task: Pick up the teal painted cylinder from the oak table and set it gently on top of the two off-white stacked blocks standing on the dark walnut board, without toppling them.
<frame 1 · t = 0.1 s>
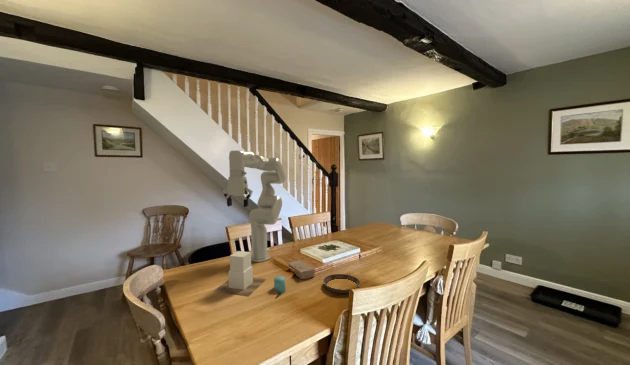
hand: (237, 206, 137), 37 cm above the table, tool pointing down, fingers open, 9 cm apart
tower board: (241, 287, 123), on the table
dark brown ring: (341, 287, 124), on the table
brick: (300, 273, 140), on the table
tower block upper: (240, 268, 122), point 9 cm above the table, touching tower block lower
tower block lower: (241, 284, 123), point 1 cm above the table, touching tower block upper, tower board
teal cylinder: (279, 291, 120), on the table
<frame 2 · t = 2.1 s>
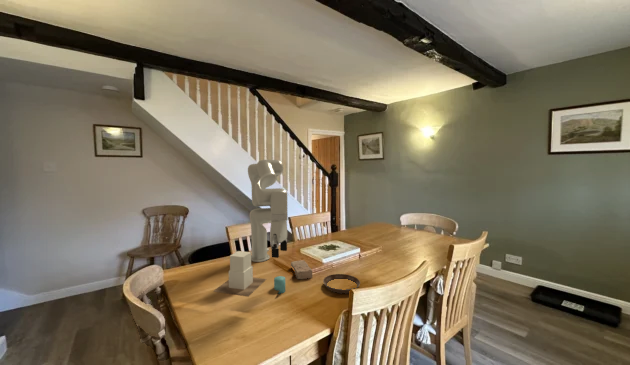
hand: (279, 253, 118), 18 cm above the table, tool pointing down, fingers open, 9 cm apart
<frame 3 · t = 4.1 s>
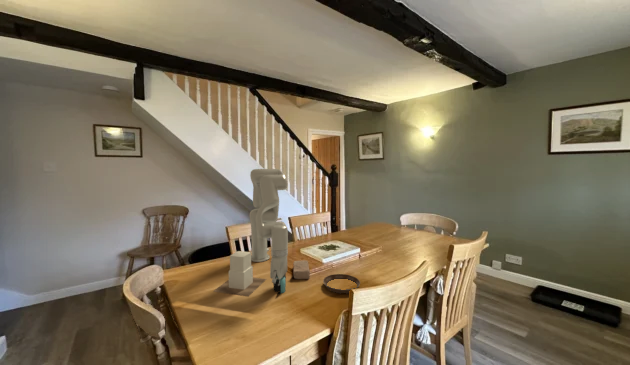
hand: (279, 289, 120), 0 cm above the table, tool pointing down, fingers closed on teal cylinder, 5 cm apart
teal cylinder: (279, 291, 120), on the table, touching gripper
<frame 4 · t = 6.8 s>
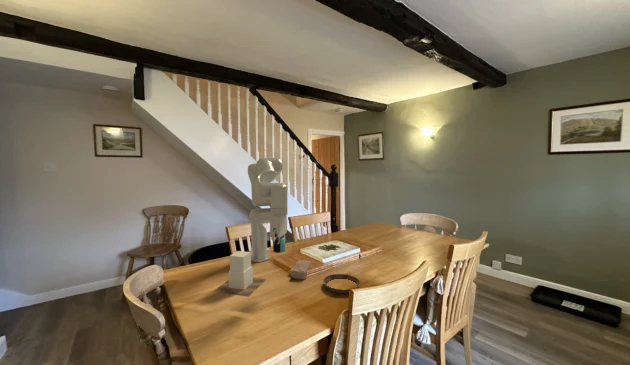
hand: (279, 249, 119), 19 cm above the table, tool pointing down, fingers closed on teal cylinder, 5 cm apart
teal cylinder: (279, 250, 119), point 19 cm above the table, touching gripper
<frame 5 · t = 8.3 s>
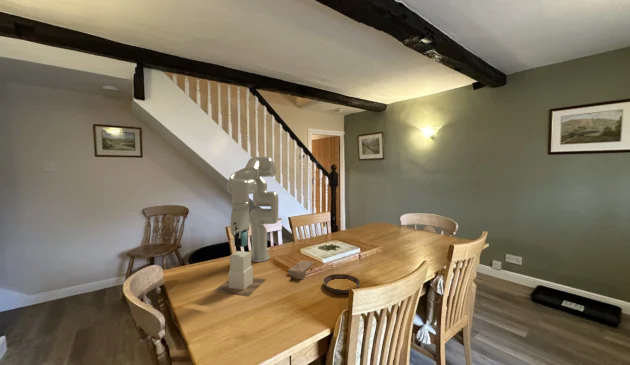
hand: (241, 244, 121), 21 cm above the table, tool pointing down, fingers closed on teal cylinder, 5 cm apart
teal cylinder: (241, 245, 122), point 21 cm above the table, touching gripper
when the fingers open (18 cm above the table, at t = 9.5 s): teal cylinder stays where it is, resting on tower block upper.
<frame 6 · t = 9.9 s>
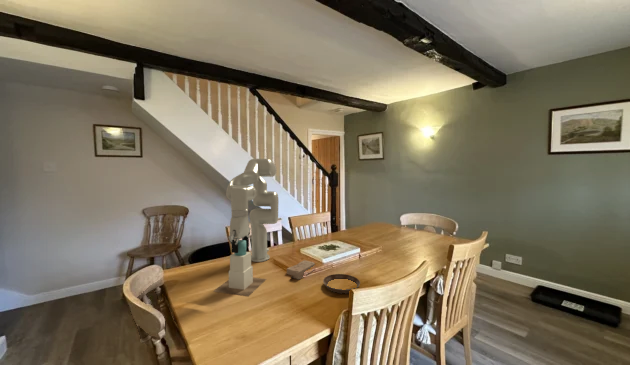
hand: (240, 249, 122), 19 cm above the table, tool pointing down, fingers open, 9 cm apart
tower block upper: (240, 268, 122), point 9 cm above the table, touching teal cylinder, tower block lower
teal cylinder: (240, 253, 122), point 16 cm above the table, touching tower block upper
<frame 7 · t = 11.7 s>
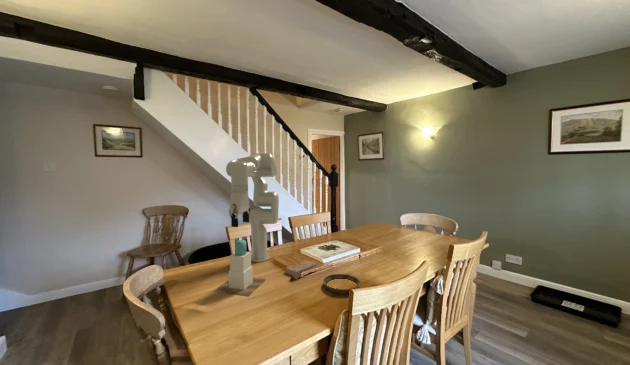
hand: (240, 224, 122), 30 cm above the table, tool pointing down, fingers open, 9 cm apart
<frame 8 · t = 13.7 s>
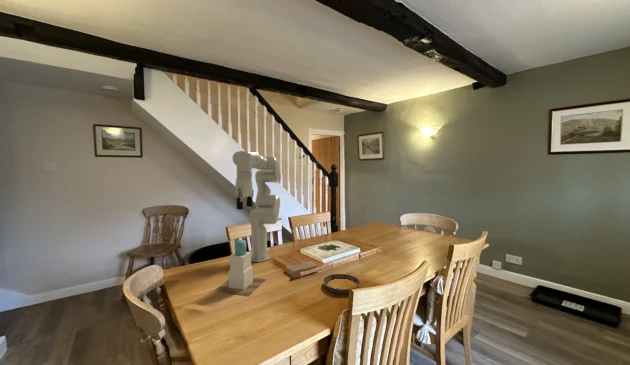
hand: (244, 207, 134), 36 cm above the table, tool pointing down, fingers open, 9 cm apart
at the end: teal cylinder 0.1 cm off-centre on the tower block upper, point 7.0 cm above the tower block upper's base; tower block upper 0.0 cm off-centre on the tower block lower, point 8.0 cm above the tower block lower's base; tower block lower tilted 0° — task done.
